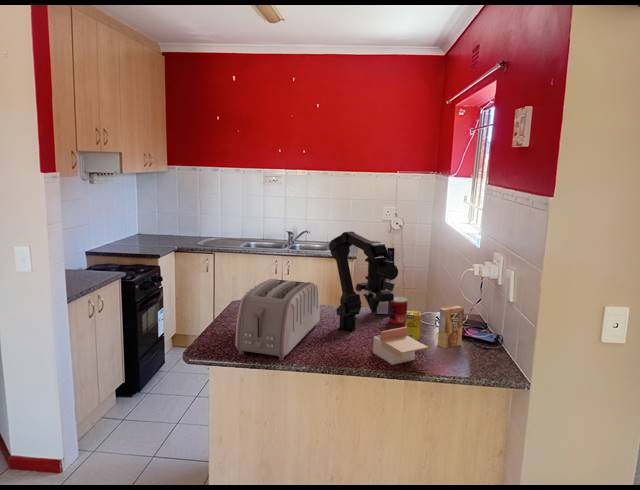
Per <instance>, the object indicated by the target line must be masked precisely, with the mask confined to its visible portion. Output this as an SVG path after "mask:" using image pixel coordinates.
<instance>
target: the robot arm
mask: <svg viewBox="0 0 640 490" xmlns="http://www.w3.org/2000/svg"><path fill="white" fill-rule="evenodd" d="M351 246H354V247H356V248H357V249H358V248H359V250H361V251H363V254H364V255H365V256H366V258H365V259H364V262H366V263H367V275H366V276H365V278H364V279H365V280H366V281H367V282H360V283H359V282H358V283H357V284H356V285H355V290H354V285H353V279H352V275H351V269H350V264H349V260H348V259H349V258H348V257H349V255H350V253H351V249H350V247H351ZM328 248H329V251H330V254H331V256H332V257H333V258H334V260H335V261H336V266H337V271H338V277H339V282H340V286H341V292H342V294H341V297H340V300H339V303H340V304H339V306H338V307H337V308H336V311H335V312H336V315H337V316H339V327H337V330H342V331H348V332H353V331H354V330H355V329H356V328H357V327H358V318H357V315H360V312H361V309H362V300H361V295H360V293H361V291H362V290H363V291H364V294H363V295H362V296H364V299H365V300H366V302H367V305H368V307H369V309H370V311H371V313H372V314H374V313H375V312H376V309H377V307H378V304H379V302H386V301H392V300H394V297H395V294H394V293H392V292H393V291H394V288H395V284H396V283H393V282H391V283H390V282H388V281H386V279H389V280H391V281H394V280H395V279H396V278H397V277H398V275H399V269H398V267H397V266H396V264H395V261H392V259H391V256H390V253H389V251H388V249H387V247H386V245H385V243H384V242H382V241H377V240H375V241H374V240H369V239H368V238H365V237H363V236H361V235H359V234H357V233H355V232H354V231H344V232H342V233H341V234H340V235H339V236H336V237H334V238H333V239H331V240H330V242H329V244H328ZM385 289H387V290H390V291H391V292H388V291H385ZM381 291H383V292H381ZM356 292H359V293H356Z"/></svg>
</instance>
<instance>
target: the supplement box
mask: <svg viewBox="0 0 640 490" xmlns="http://www.w3.org/2000/svg"><path fill="white" fill-rule="evenodd" d="M421 318H422V312H421V311H420V310H419V311H417V310H407V311H406V323H405V324H404V327H407V336H409V337H411V338H413V339H414V340H416V341H418V342H420V336H421V335H420V332H421V322H422V319H421Z"/></svg>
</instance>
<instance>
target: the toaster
mask: <svg viewBox="0 0 640 490" xmlns="http://www.w3.org/2000/svg"><path fill="white" fill-rule="evenodd" d="M238 308H239V309H238V312H237V318H236V326H235V327H236V328H235V347H236V350H238V353H244V354H245V352H250V353H257V354H261V355H268V356H269V355H270V356H276V357H278V360H279V359H280V360H284V358H285V357H286V355H288V354H289V353H290V352H291V351H292V350H293V349H294V348H295V347H296V346H297V345H298V344H299V343H300V342H301V340H303V338H305V336H307V335H308V334H309V332H310V331H312V329H313V328H315V327H314V326H316V327H318V323H319V322H320V318H321V317H320V316H321V309H320V296H319V288H318V285H317V284H315V283H314V282H310V281H307V282H305V281H294V280H285V279H278V278H268V279H267V280H264V281H262V282H260V283H258V284H257V285H255V286H253V288H250V289H249V290H248V291H246V292H245V294H244V296H242V297H241V299H240V303H239V307H238ZM284 361H285V360H284Z"/></svg>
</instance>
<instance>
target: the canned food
mask: <svg viewBox="0 0 640 490" xmlns="http://www.w3.org/2000/svg"><path fill="white" fill-rule="evenodd" d="M406 311H408V298H406V297H404V296H394V300H392V301H390V309H389V316H388V322H389V323H390V324H392V325H395V326H404V325H406Z"/></svg>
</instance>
